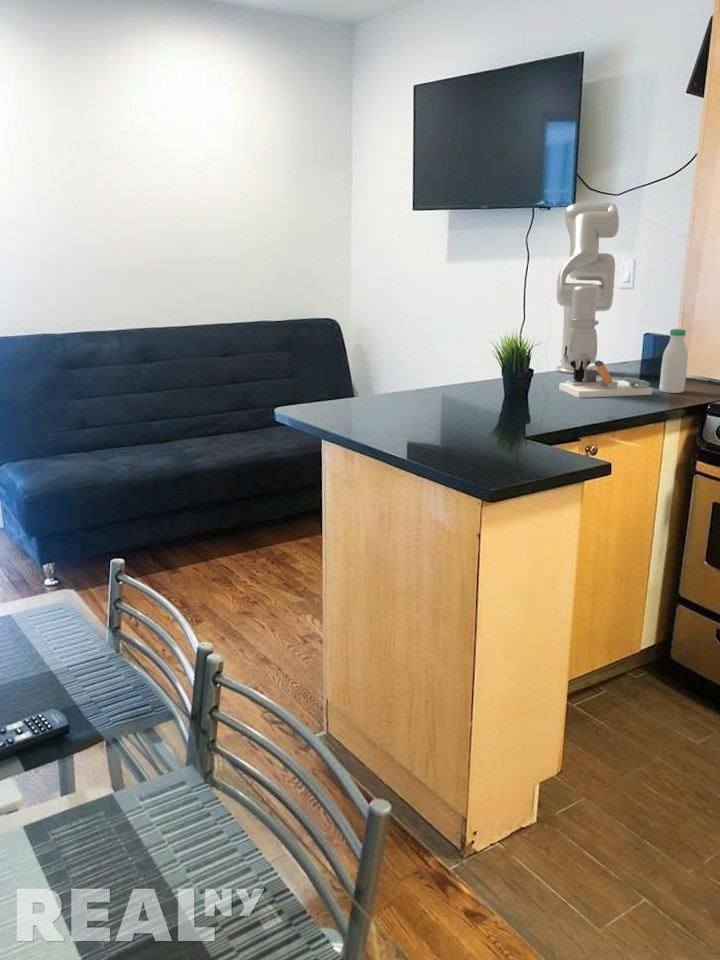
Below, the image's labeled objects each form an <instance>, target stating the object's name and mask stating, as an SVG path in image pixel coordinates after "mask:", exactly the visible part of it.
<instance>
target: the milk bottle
mask: <svg viewBox="0 0 720 960" xmlns="http://www.w3.org/2000/svg"><path fill="white" fill-rule="evenodd" d="M669 337H670V339H669V342H668V344H667V346H666V348H665V349H664V351H663V353H662V359H661V360H662V361H661V369H660V378H659V387H658V388H659V392H663V393H668V394H681V393H684V391H685V390H686V389H685V387H686V378H687V371H688V370H687V369H688V362H689V361H688V357H689V355H688V350H687V346H686V344H685V338H686V329H681V328H673V329H670V331H669Z"/></svg>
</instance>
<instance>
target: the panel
mask: <svg viewBox="0 0 720 960" xmlns="http://www.w3.org/2000/svg"><path fill="white" fill-rule="evenodd" d="M612 381H613V383H608V385H607V384H605V383H604V381H603V379H602V378H598V379H597V378H596V382H586V383H583V382H577V381H575V380H574V379H572V380H571V379H570V380H568V379H567V380H565V382H558V383H559V385H558V386H559V387H558V390H560V391H562V392H565V393H567V394H569V395H572V396H574V397H575V398H579V399H580V398H582V399H583V398H602V397H624V396H625V397H627V396H646V395H647V396H649V395H652V393H653V387H650V386H644V385H642V386H640V385H637V384H634V383H629V382H626V381H624V379H623V380H615V379H612Z"/></svg>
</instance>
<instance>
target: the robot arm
mask: <svg viewBox="0 0 720 960" xmlns="http://www.w3.org/2000/svg"><path fill="white" fill-rule="evenodd" d="M619 217H620V216H619V211H618V207H617V205H616V204H615V203H613V202H579V203H572V204H570V205H568V206H567V207H566V209H565V213H564V219H565V225H566V228H567V231H568V234H569V239H570V248H569V258H568V259H567V260H566V261H565V262H564V263H563V264H562V266H561V268H560V269H559V272H558V275H557V280H556V281H557V282H556V302H557V304H558V305H560V306H561V307H563V327H562V328H563V331H562V332H563V333H562V345H561V347H562V348H561V359H560V365H559V366H556V370H555V371H557V372H560V373H563V374H565V373H567V374H573V375H572V376H573V380H575V381H577V382H583V379H584V370H585V369H587V367H589V365H591V364H594V363H595V362H596V361H597V356H598V334H597V329H596V328H595V327H596V326H597V325H599V320H596V312H606V311H609V310H610V309H611V307H612V305H613V300H614V289H615V288H614V286H615V277H616V276H615V275H616V261H615V257H614V256H613V255H612V254H611V253H608V252H607V253H606V252H604V253H602V252H599V251H600V250H599V249H600V247H599V246H600V238H601V239H603V238H606V239H607V238H608V239H609V238H610V239H611V238H614V237H616V235H617V234H618V231H619V226H620V225H619V224H620V218H619ZM568 275H569V277H570V279H572V280H574V281H592V283H586V282H584V283H583V282H574V283H573V282H566V279H567V277H568ZM593 281H598V282H600V284H596V283H593Z"/></svg>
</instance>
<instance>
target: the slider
mask: <svg viewBox="0 0 720 960" xmlns="http://www.w3.org/2000/svg"><path fill="white" fill-rule="evenodd" d="M597 371H598V370H597V369H595V368H593V367H592V366H587V369H585V370H584V378H583V383H586V382H596V379H597V375H598V374H597Z"/></svg>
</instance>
